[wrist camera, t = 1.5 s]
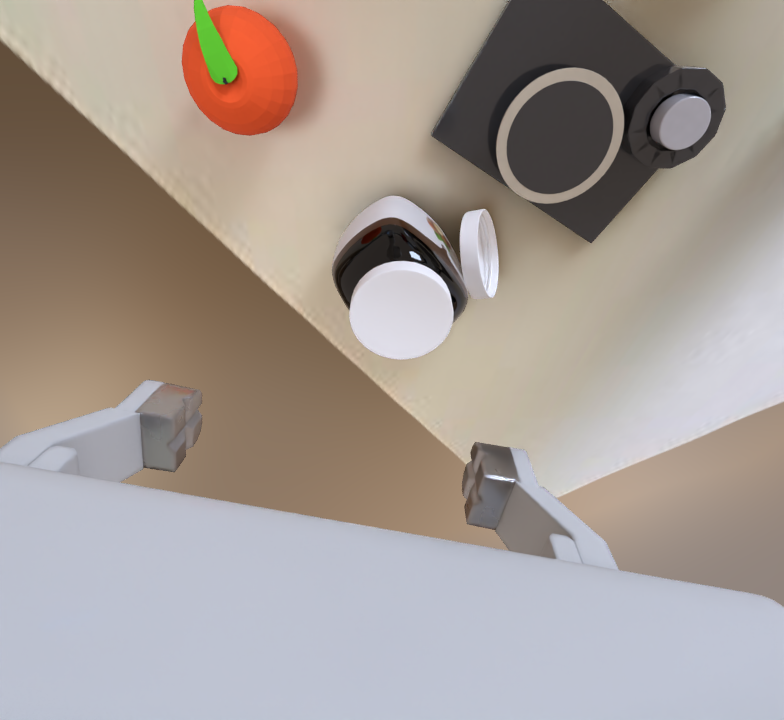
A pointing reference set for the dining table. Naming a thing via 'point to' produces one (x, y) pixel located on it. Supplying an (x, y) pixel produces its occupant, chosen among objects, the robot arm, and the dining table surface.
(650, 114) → the hob
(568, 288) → the dining table surface
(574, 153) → the cooking ring
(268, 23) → the clementine
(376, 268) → the spread jar
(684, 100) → the button
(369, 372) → the dining table surface
